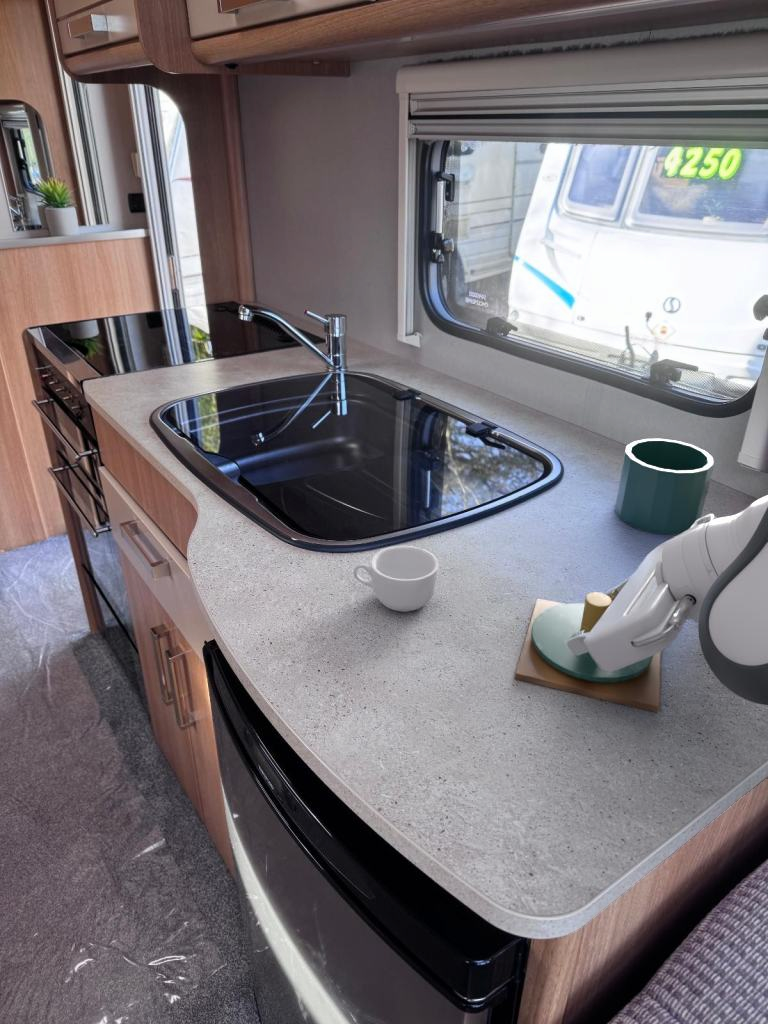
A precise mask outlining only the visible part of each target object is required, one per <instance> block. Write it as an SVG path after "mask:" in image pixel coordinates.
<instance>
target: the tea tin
mask: <svg viewBox="0 0 768 1024" xmlns="http://www.w3.org/2000/svg"><path fill="white" fill-rule="evenodd" d="M714 468H715V461H714V457H713V456H712V455H711V454H709V452H708V451H706V450H704V449H703V448H701V447H698V446H696V445H694V444H691V443H687V442H683V441H679V440H675V439H674V440H673V439H668V438H667V439H666V438H643V439H640V440H639V439H637V440H634V441H632V442H630V443H629V444H627V445H626V446H625V450H624V456H623V461H622V467H621V473H620V478H619V484H618V488H617V494H616V498H615V499H616V501H615V505H614V511H615V514H616V516H617V517H618V518H619V519H620V520H621V521H622V522H624V523H625V524H626V525H628V526H629V527H632V528H635V529H637V530H640V531H643V532H647V533H650V534H657V535H666V536H667V535H668V536H670V535H671V536H672V535H673V536H675V535H676V536H677V535H679V534H681V533H683V532H684V531H686V530H688V529H689V528H690V527H691V526H692V525H693V523H695V521H696V520H698V519H700V518H702V515H703V510H704V507H705V502H706V500H707V499H706V498H707V496H708V495H707V494H708V491H709V486H710V483H711V478H712V475H713V470H714Z"/></svg>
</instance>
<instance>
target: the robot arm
mask: <svg viewBox="0 0 768 1024" xmlns="http://www.w3.org/2000/svg"><path fill="white" fill-rule="evenodd" d="M604 594H606V595H607V596H609V597H610V598H611V600H612V603H611V604H610V606H609V607H608V608H607V610H606V611H605V612H604V614H603V615H602V616H601V618H600V619H599V620H598V622H597V623H596V624H595V626H594V627H593V629H592V630H591V631H590V632H587V633H586V632H585V630H582V631H580V632H578V633H575V634H573V636H572V637H571V638H570V639H569V640H568V642H567V645H568V647H569V648H570V650H571V651H572V653H573V654H574V655H576V656H579V655H582V654H584V653H587V652H589V654H590V655H591V657H592V658H593V660H594V661H595V662H596V664H597V665H598V666H599V668H600V669H602V670H603V671H607V672H613V671H616V670H619V669H621V668H624V667H626V666H629V665H632V664H634V663H636V662H639V661H641V660H644V659H646V658H648V657H651V656H653V655H655V654H657V653H659V652H661V653H662V651H664V650H666V649H667V648H669V647H670V646H671V645H672V644H673V643H674V642H675V641H676V639H677V637H678V636H679V634H680V632H681V630H682V629H683V627H684V625H685V623H686V622H687V620H688V621H689V620H692V621H694V622H695V623H697V624H698V626H697V628H698V629H697V630H698V639H699V640H698V641H699V645H700V649H701V652H702V655H703V657H704V659H705V662H706V663H707V665H708V667H709V669H710V670H711V672H712V673H713V675H714V676H715V677H716V679H718V681H719V682H720V683H721V684H722V685H723V686H724V687H726V688H727V689H728V690H729V691H730V692H732V693H734V694H735V695H736V696H738V697H740V698H741V699H744V700H746V701H749V702H752V703H755V704H759V705H764V706H768V494H766V495H764V496H762V497H760V498H757V499H756V500H755V501H753V502H752V503H750V505H748V506H747V507H746V508H745V509H744V510H742V511H740V512H738V513H736V514H732V515H727V516H726V515H725V516H722V517H717V515H715V514H714V513H708V514H706V515H703V516H701V518H700V519H698V520H696V521H695V523H693V525H692V526H691V527H690V528H689V529H688V530H686V531H684V532H683V533H681V534H676V536H675V535H674V536H673V537H672V538H669V539H668V540H666V541H665V542H663V543H661V544H659V545H658V546H657V547H655V548H653V550H651V551H650V552H648V553H647V555H646V556H645V557H644V559H643V560H642V561H641V563H640V564H639V565H638V566H637V568H636V569H635V570H634V572H633V574H632V575H630V576H629V577H627V578H626V579H624V580H623V581H622V582H620V583H619V584H618V585H616V586H613V587H612V588H609V589H607V590H606V591H605V592H604Z"/></svg>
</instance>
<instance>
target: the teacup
mask: <svg viewBox="0 0 768 1024" xmlns="http://www.w3.org/2000/svg"><path fill="white" fill-rule="evenodd" d="M439 565H440V564H439V560H438V558H437V557H436V556H435V554H433V553H432V552H431V551H428V550H426V549H424V548H421V547H419V546H411V545H392V546H389V547H385V548H382V549H380V550H378V551H377V552H375V553H374V554H373V555H372V557H371V559H370V564H369V563H365V562H361V563H358V564H356V565H355V567H354V569H353V577H354V578H355V579H356V581H357V582H359V583H361V584H362V585H365V586H367V587H369V588H371V589H372V590H373V592H374V595H375V597H376V598H377V599H378V601H379V602H380V603H381V604H382V605H383V606H384V607H386V608H388V609H390V610H393V611H396V612H401V613H402V612H403V613H406V612H413V611H417V610H420V609H421V608H422V607H424V606H426V605H427V604H428V603H429V602H430V601H431V599H432V597H433V595H434V592H435V588H436V584H437V577H438V572H439ZM359 569H364V570H365V571H366V572H367V573H368V575H369V577H370V580H368V579H365V578H363V577H361V576H360V575H359V573H358V570H359Z"/></svg>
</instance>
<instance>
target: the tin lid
mask: <svg viewBox="0 0 768 1024" xmlns="http://www.w3.org/2000/svg"><path fill="white" fill-rule="evenodd" d="M584 599H585V600H584V602H568V603H563V604H561V605H557V606H554V607H551V608H549V609H547V610H545V611H544V612H542V613H541V614H540V615H539V616H538V617H537V618H536V620H535V621H534V623H533V626H532V632H531V637H532V642H533V645H534V647H535V649H536V650H537V652H538V653H539V654H540V655H541V657H542V658H543V659H544V660H546V661H547V662H548V663H549V664H551V665H552V666H553V667H555V668H557V669H558V670H560V671H562V672H564V673H566V674H569V675H571V676H574V677H577V678H581V679H584V680H590V681H596V682H618V681H624V680H628V679H631V678H634V677H636V676H638V675H640V674H641V673H643V672H644V671H645V670H646V669H647V668H648V667H649V665H650V664H651V661H652V658H653V656H651V657H648V658H646V659H644V660H641V661H639V662H636V663H634V664H632V665H629V666H626V667H624V668H621V669H619V670H616V671H613V672H607V671H603V670H602V669H600V668H599V666H598V665H597V664H596V662H595V661H594V660H593V658H592V657H591V655H590V654H589V652H587V653H584V654H582V655H579V656H576V655H574V654H573V653H572V651H571V650H570V648H569V647H568V645H567V642H568V640H569V639H570V638H571V637H572V636H573V634H575V633H578V632H580V631H582V630H585V632H586V633H587V632H590V631H591V630H592V629H593V627H594V626H595V624H596V623H597V622H598V620H599V619H600V618H601V616H602V615H603V614H604V612H605V611H606V610H607V608H608V607H609V606H610V604H611V603H612V600H611V598H610V597H609V596H607V595H606V594H605V593H604V592H598V591H594V592H589V593H587V594H586V596H585V598H584Z"/></svg>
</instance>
